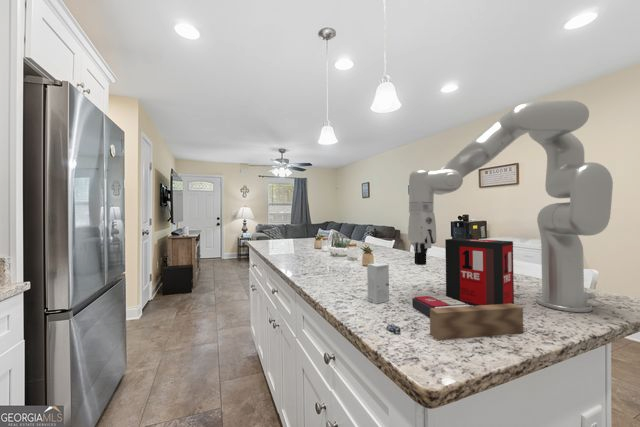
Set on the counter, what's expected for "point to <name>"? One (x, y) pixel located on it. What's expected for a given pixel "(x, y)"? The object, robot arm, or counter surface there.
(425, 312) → the calculator
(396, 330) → the blueberries
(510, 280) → the cleaning product box
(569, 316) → the counter surface
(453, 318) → the walnut board
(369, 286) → the skincare box
